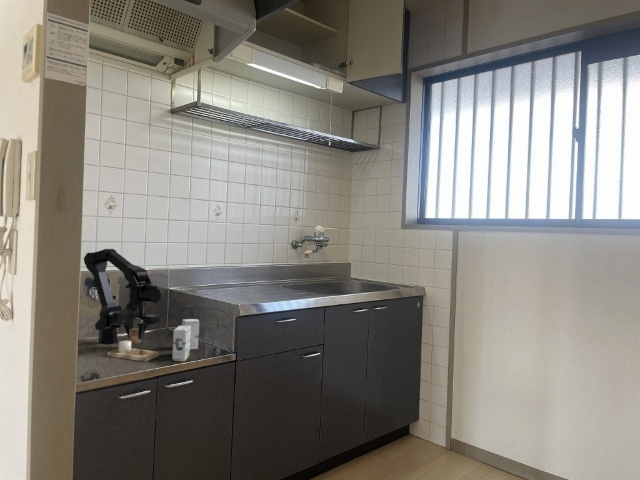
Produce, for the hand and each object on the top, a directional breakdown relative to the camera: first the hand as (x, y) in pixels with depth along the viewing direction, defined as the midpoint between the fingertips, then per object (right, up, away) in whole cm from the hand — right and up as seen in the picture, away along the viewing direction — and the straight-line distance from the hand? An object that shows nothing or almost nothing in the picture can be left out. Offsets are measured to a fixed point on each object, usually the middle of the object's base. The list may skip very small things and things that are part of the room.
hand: (134, 338), depth 197 cm
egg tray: (+4, -5, -11) cm, 13 cm away
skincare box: (+21, -5, +5) cm, 22 cm away
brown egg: (0, -1, 0) cm, 1 cm away
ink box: (+21, -6, -9) cm, 24 cm away
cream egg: (0, -4, -10) cm, 11 cm away
